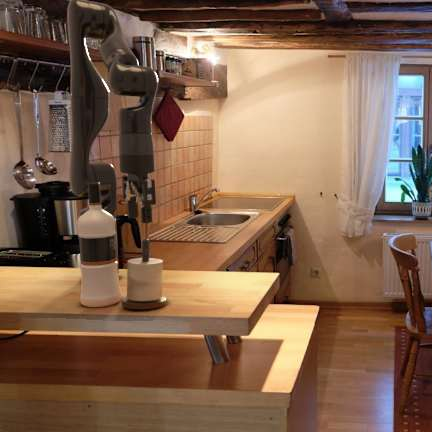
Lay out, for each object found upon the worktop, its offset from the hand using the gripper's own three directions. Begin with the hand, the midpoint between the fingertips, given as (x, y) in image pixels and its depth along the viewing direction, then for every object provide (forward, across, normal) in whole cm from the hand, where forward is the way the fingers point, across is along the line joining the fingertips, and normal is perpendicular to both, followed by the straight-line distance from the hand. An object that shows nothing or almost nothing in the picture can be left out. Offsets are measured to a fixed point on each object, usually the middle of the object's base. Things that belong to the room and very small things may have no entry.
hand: (139, 220), depth 135 cm
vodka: (+22, +9, +7) cm, 24 cm away
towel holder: (+13, 0, -6) cm, 14 cm away
